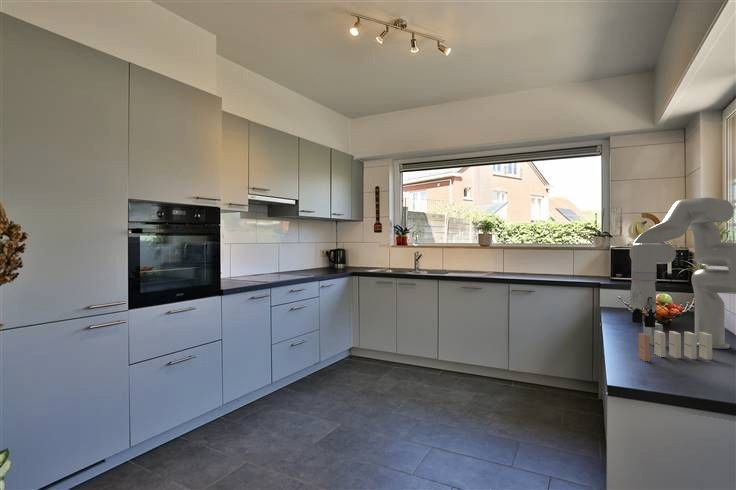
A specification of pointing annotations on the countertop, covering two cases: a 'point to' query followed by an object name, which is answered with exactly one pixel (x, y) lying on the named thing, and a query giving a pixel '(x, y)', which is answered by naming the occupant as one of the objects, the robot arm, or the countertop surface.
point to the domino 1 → (644, 347)
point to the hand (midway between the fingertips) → (643, 324)
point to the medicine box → (652, 331)
